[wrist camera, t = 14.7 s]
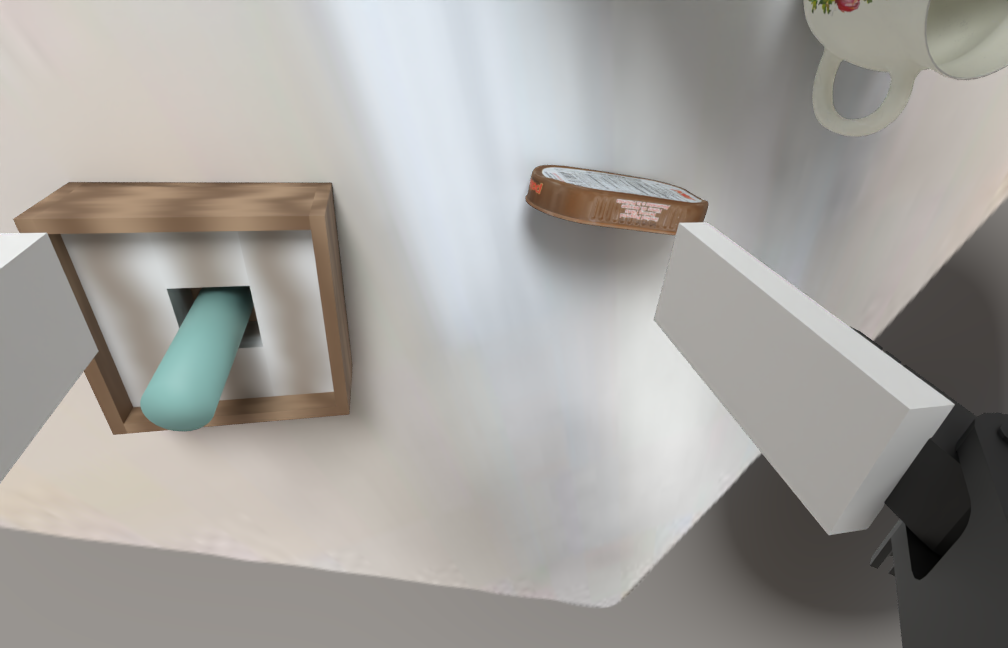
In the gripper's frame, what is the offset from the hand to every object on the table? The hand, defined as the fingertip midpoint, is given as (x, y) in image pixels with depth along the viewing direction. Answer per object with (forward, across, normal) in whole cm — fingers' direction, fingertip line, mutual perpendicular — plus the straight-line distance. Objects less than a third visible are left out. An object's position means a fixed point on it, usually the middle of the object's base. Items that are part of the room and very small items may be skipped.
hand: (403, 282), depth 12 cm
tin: (+32, +18, -8) cm, 38 cm away
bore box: (+32, -14, -17) cm, 38 cm away
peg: (+31, -14, -17) cm, 38 cm away
